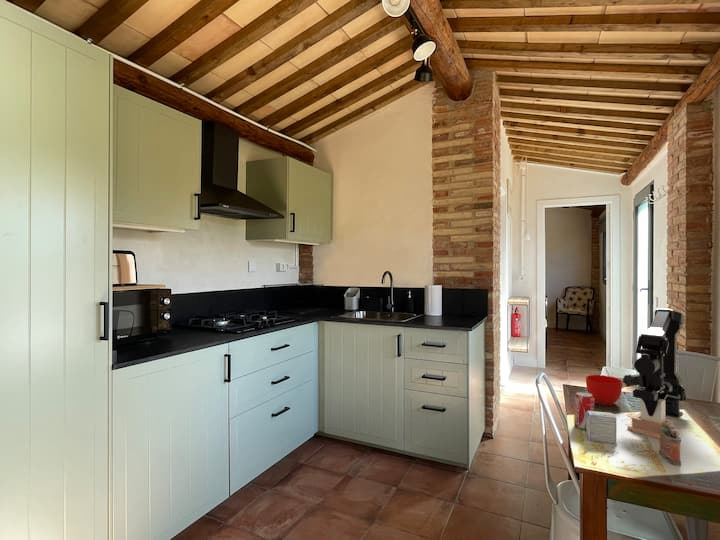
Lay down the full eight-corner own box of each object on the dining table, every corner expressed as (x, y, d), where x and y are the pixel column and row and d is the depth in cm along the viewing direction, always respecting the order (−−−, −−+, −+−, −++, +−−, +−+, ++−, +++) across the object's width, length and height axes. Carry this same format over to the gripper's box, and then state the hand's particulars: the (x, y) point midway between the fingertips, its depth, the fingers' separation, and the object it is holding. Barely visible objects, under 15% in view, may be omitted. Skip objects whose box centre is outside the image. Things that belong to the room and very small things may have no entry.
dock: (638, 422, 144) (638, 411, 144) (679, 433, 135) (679, 421, 135) (627, 429, 138) (627, 417, 138) (669, 441, 129) (669, 428, 129)
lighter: (684, 466, 113) (684, 431, 113) (670, 465, 114) (670, 430, 113) (668, 453, 121) (668, 420, 121) (655, 452, 121) (655, 420, 121)
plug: (644, 417, 140) (644, 395, 140) (665, 423, 135) (665, 399, 135) (640, 420, 138) (640, 397, 138) (661, 426, 133) (661, 402, 133)
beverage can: (570, 424, 143) (570, 391, 143) (586, 423, 144) (586, 390, 144) (581, 431, 137) (581, 397, 137) (598, 430, 138) (598, 396, 138)
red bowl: (611, 395, 174) (611, 373, 174) (627, 409, 157) (627, 384, 157) (578, 394, 177) (578, 371, 177) (592, 407, 160) (591, 382, 160)
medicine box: (613, 438, 131) (612, 412, 131) (616, 444, 127) (616, 417, 127) (586, 435, 134) (586, 410, 134) (589, 440, 130) (589, 414, 130)
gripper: (636, 361, 148) (636, 402, 148) (615, 369, 137) (615, 413, 137) (672, 367, 139) (672, 411, 140) (653, 376, 128) (653, 423, 128)
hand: (652, 414), depth 136 cm, fingers closed on plug, 4 cm apart
